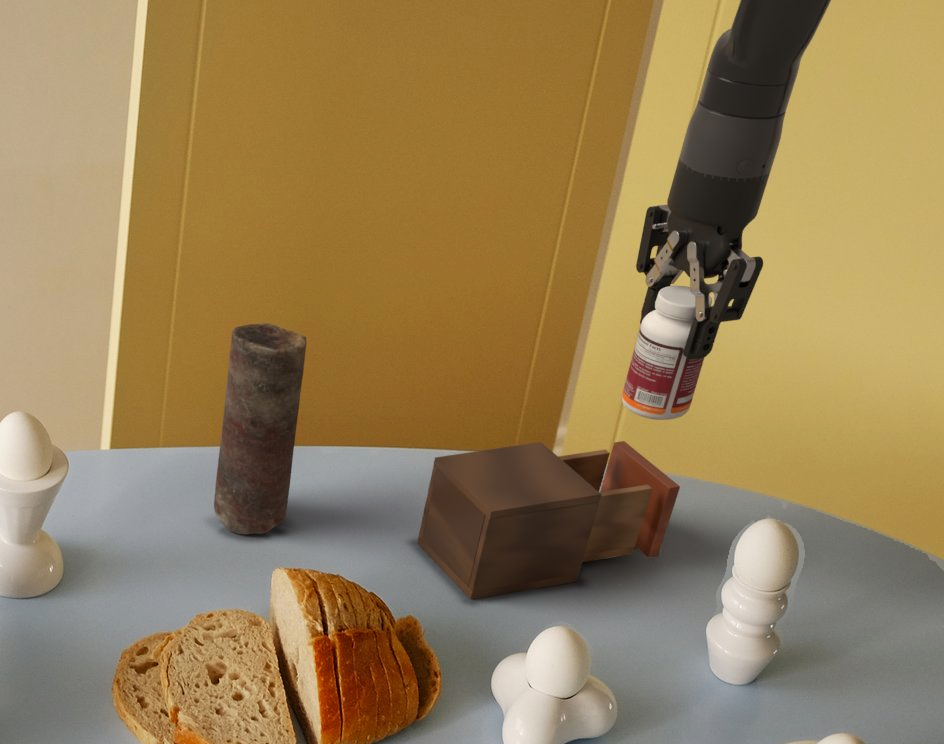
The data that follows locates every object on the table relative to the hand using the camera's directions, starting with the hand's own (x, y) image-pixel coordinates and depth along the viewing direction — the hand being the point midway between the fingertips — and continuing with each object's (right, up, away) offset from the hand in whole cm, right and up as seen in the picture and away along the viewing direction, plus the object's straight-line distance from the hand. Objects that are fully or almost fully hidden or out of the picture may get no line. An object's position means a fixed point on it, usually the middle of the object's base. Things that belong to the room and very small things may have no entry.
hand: (672, 340), depth 162 cm
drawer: (-3, -16, +13) cm, 21 cm away
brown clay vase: (-36, -14, +17) cm, 42 cm away
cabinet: (-13, -19, +11) cm, 25 cm away
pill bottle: (0, -5, +4) cm, 7 cm away
